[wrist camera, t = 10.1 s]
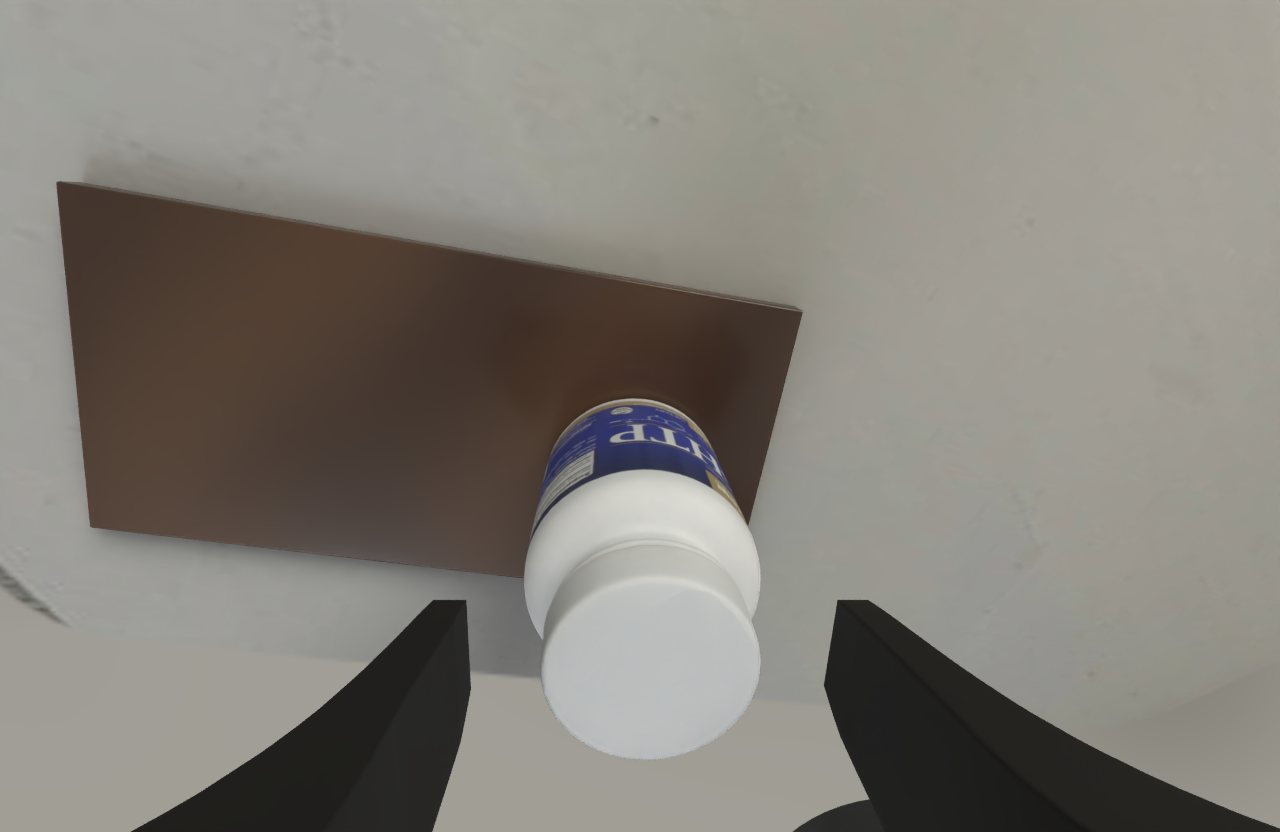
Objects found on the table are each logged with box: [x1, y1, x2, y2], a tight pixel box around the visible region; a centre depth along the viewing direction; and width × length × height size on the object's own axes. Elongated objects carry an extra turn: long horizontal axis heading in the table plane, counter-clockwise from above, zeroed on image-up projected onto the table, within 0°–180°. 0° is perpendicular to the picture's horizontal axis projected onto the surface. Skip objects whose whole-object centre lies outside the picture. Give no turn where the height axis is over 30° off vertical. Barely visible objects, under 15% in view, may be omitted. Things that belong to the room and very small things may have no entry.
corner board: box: [56, 181, 803, 578], centre depth 19 cm, size 20×10×1 cm, turn 80°
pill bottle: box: [524, 398, 761, 760], centre depth 15 cm, size 5×5×9 cm
